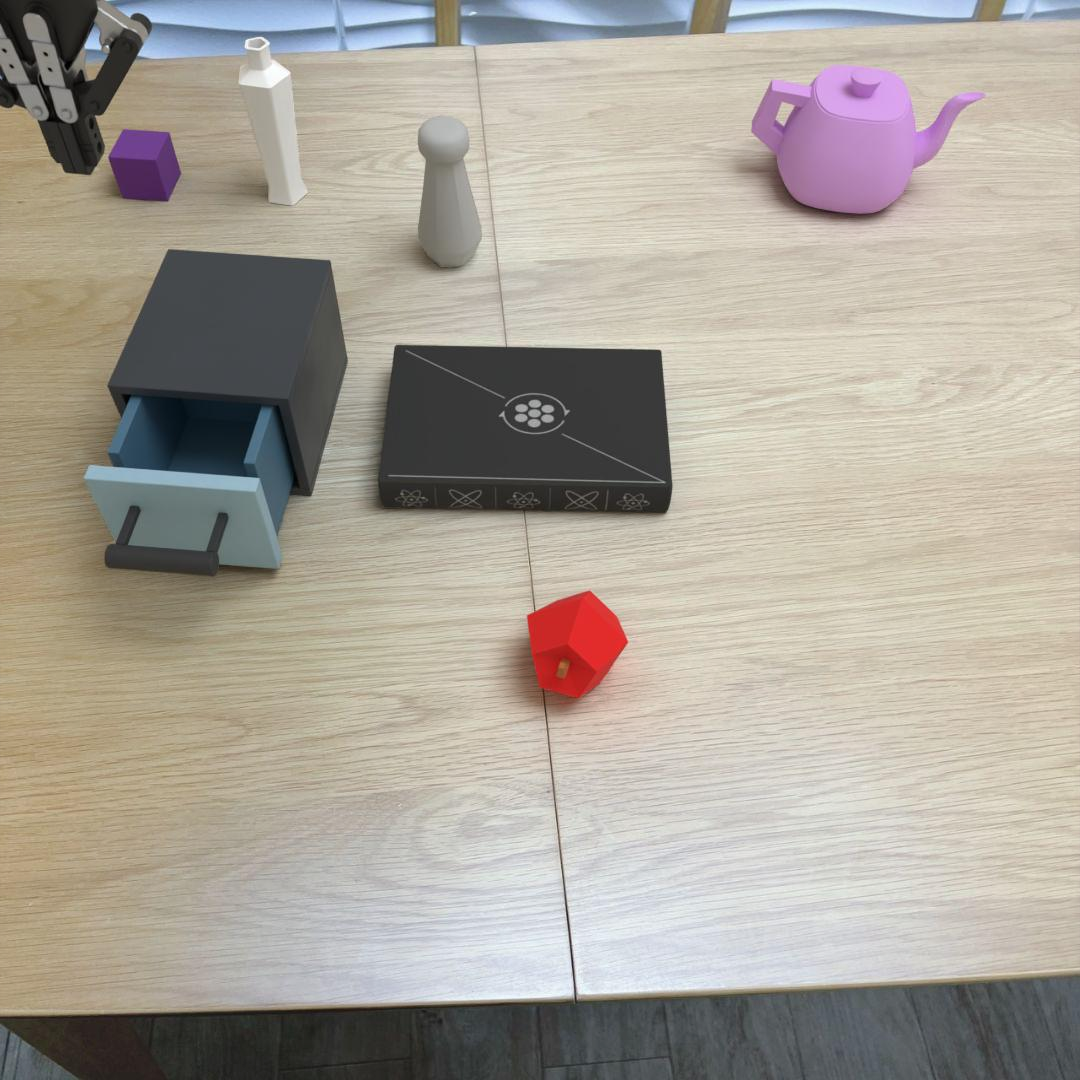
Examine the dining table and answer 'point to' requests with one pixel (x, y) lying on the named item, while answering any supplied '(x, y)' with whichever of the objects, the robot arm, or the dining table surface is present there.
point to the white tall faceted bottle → (272, 121)
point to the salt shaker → (447, 194)
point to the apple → (574, 643)
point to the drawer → (194, 486)
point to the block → (145, 164)
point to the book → (526, 429)
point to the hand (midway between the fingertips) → (83, 166)
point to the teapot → (850, 137)
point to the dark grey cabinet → (242, 343)
